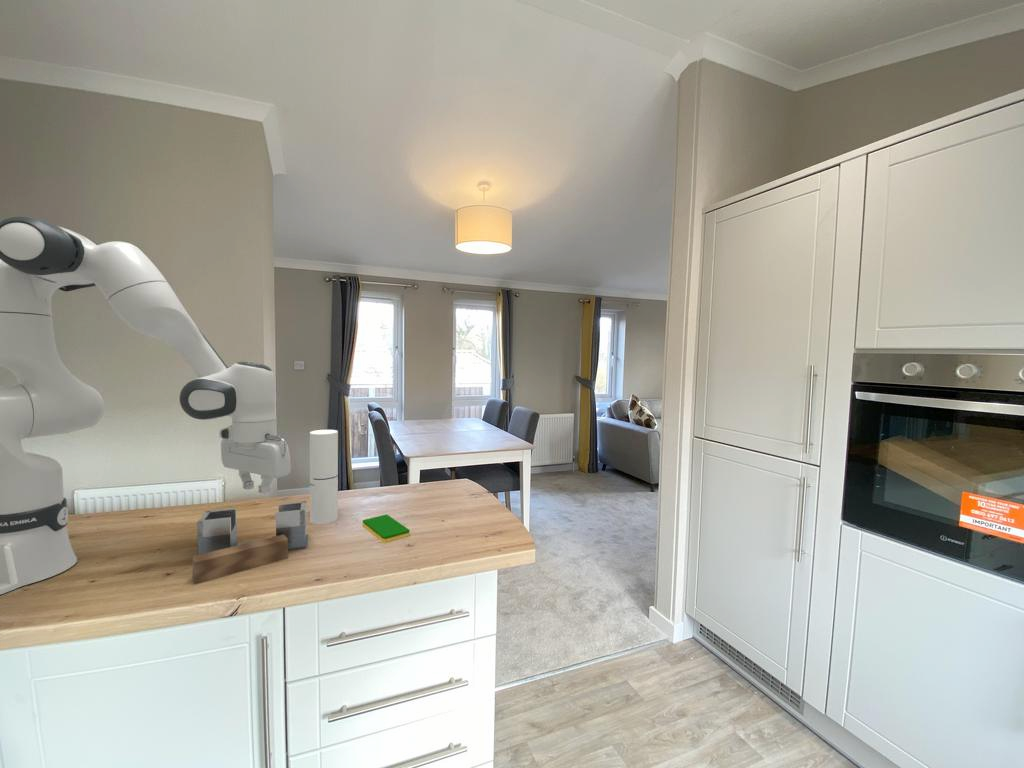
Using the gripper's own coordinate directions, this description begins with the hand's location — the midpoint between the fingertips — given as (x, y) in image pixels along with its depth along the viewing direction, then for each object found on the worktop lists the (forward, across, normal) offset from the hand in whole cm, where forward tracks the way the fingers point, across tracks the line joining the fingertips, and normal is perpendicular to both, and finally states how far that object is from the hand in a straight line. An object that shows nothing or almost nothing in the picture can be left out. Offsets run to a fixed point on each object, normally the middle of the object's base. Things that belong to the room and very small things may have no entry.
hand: (256, 490), depth 99 cm
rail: (+15, -5, +7) cm, 17 cm away
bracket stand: (+14, 0, 0) cm, 14 cm away
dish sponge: (+15, -19, -22) cm, 33 cm away
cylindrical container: (+15, +2, -20) cm, 25 cm away
